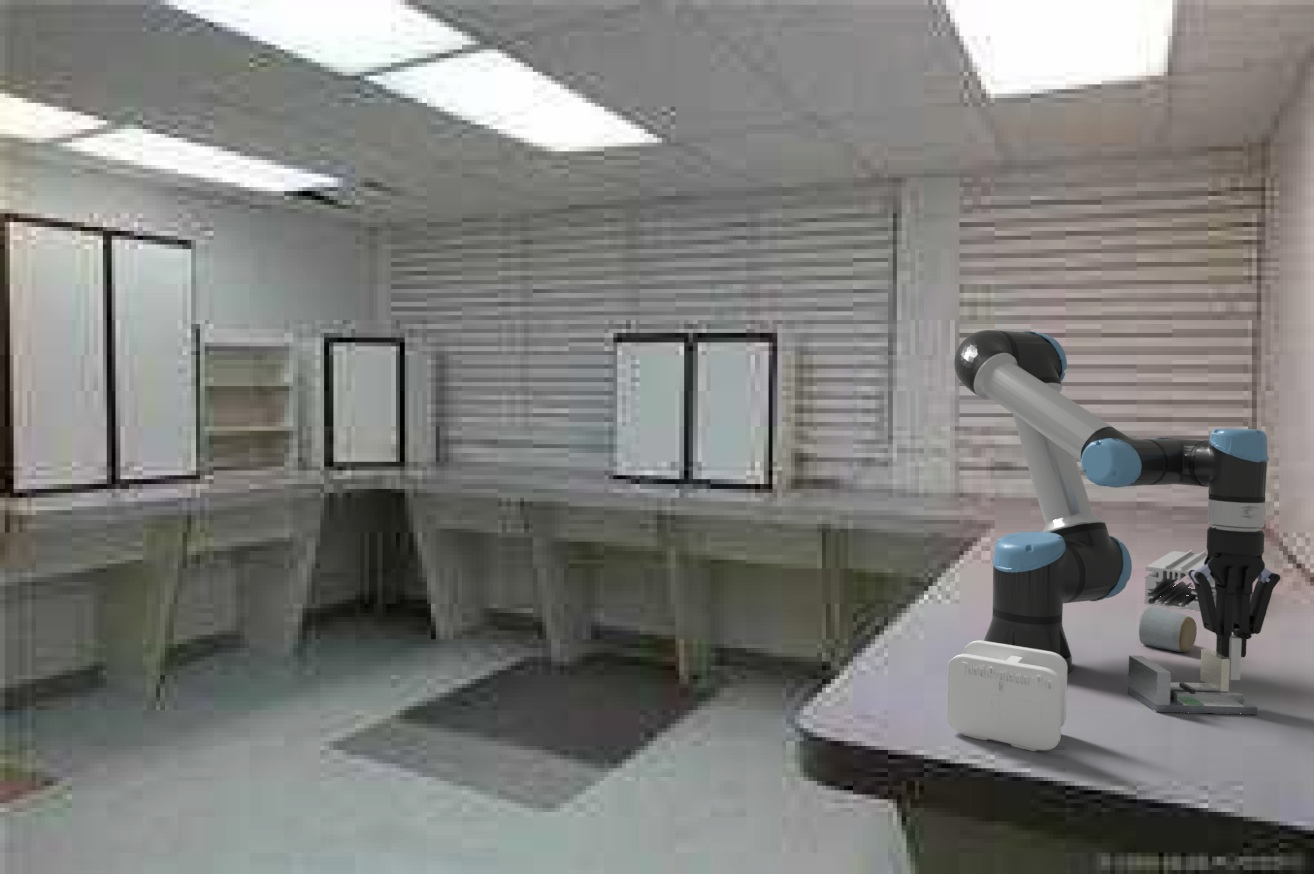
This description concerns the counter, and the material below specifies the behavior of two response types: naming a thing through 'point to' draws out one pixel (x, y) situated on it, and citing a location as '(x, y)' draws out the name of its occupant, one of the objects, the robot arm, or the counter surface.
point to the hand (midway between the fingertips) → (1230, 677)
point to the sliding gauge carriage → (1207, 675)
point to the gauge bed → (1178, 693)
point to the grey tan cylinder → (1167, 629)
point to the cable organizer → (1008, 694)
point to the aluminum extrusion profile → (1174, 580)
